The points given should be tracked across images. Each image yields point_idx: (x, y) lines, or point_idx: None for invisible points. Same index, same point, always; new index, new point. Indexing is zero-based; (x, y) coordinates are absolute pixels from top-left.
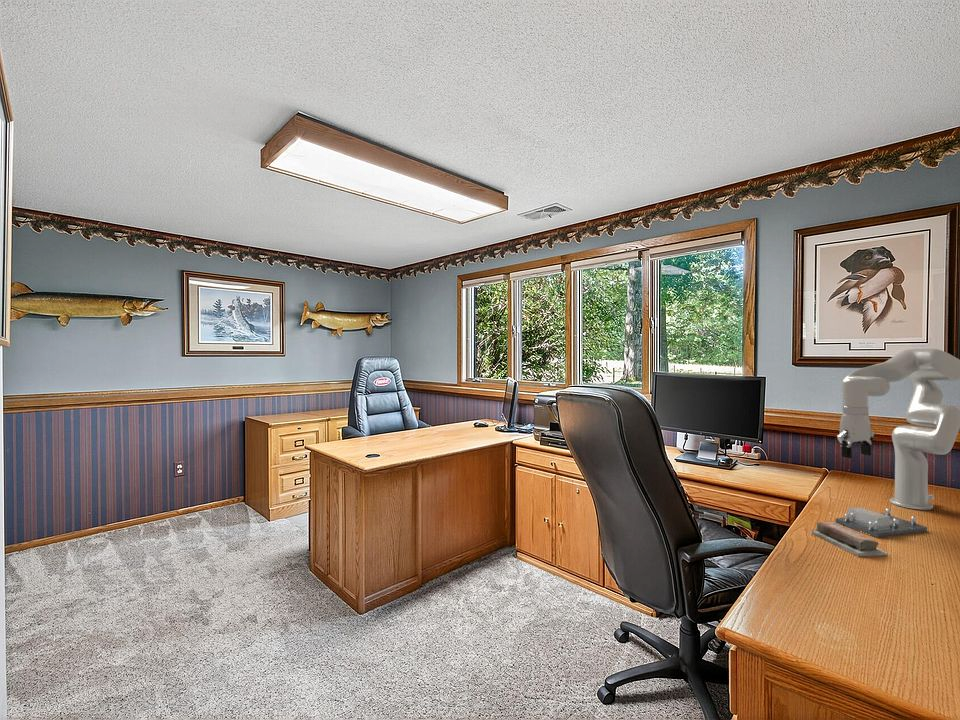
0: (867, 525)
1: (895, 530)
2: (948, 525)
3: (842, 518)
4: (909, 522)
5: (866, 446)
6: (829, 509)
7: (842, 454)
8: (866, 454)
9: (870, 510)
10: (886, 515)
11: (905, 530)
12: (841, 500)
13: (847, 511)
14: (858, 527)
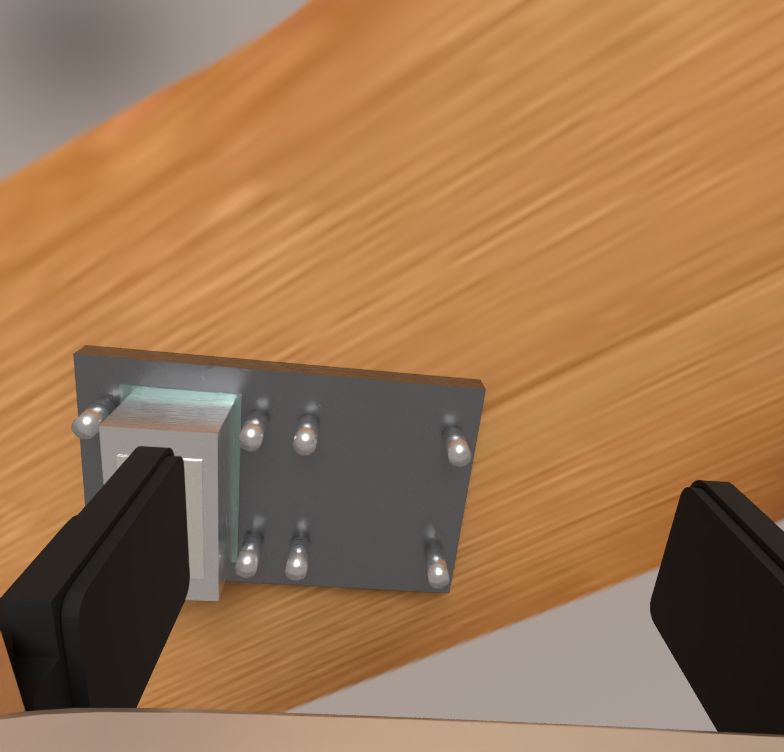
0: None
1: (231, 575)
2: (647, 563)
3: (121, 369)
4: (442, 532)
5: (755, 725)
6: (306, 149)
7: (127, 475)
8: (662, 573)
9: (218, 501)
10: (216, 585)
11: (294, 582)
12: (631, 29)
13: (109, 417)
14: (85, 484)
